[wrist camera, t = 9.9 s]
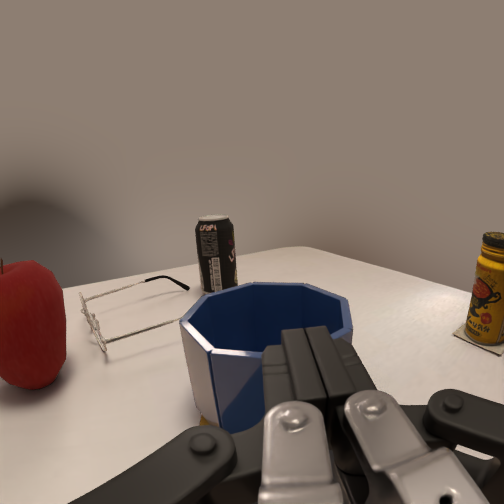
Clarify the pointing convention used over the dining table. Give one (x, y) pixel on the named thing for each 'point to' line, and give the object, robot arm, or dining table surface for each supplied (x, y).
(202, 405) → the glazed bowl
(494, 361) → the dining table surface
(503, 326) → the condiment
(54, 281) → the apple
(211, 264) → the beverage can
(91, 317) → the eyeglasses
